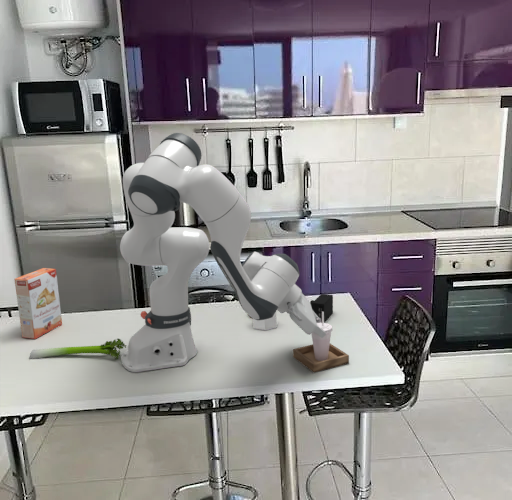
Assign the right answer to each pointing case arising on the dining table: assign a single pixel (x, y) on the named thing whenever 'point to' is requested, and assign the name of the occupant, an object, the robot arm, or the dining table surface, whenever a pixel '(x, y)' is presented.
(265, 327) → the jar
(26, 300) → the cracker box
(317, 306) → the digital camera
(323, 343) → the smoothie
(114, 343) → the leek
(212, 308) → the dining table surface
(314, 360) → the tray
